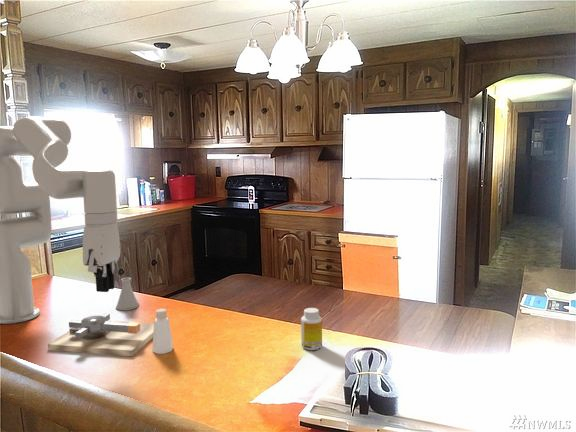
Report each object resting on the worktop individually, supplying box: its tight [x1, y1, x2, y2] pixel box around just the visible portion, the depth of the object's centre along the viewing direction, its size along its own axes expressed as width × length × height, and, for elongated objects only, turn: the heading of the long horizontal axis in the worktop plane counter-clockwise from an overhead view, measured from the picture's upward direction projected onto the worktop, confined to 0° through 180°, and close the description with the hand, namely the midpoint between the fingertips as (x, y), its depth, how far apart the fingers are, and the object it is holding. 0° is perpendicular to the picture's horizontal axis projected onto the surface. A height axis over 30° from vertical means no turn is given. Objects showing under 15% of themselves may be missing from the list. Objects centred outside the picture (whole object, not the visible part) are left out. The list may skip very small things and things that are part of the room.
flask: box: [115, 277, 140, 311], centre depth 150 cm, size 7×7×10 cm
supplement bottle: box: [300, 307, 323, 351], centre depth 120 cm, size 6×6×10 cm
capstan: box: [68, 313, 141, 339], centre depth 123 cm, size 20×14×4 cm
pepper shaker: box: [152, 308, 174, 355], centre depth 118 cm, size 5×5×11 cm
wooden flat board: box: [47, 320, 154, 357], centre depth 125 cm, size 24×18×3 cm
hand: (105, 289), depth 114 cm, fingers closed
